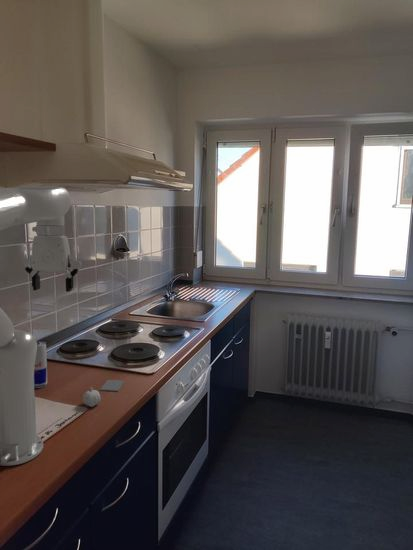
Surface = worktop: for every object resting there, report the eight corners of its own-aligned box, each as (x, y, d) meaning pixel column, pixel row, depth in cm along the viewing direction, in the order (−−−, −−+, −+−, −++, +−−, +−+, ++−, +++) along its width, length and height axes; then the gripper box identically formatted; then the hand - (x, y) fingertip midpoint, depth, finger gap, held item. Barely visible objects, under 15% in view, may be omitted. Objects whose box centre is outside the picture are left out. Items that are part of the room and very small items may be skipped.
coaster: (117, 391, 143) (117, 390, 143) (100, 390, 144) (100, 389, 144) (124, 381, 151) (124, 380, 151) (107, 380, 151) (107, 379, 151)
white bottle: (29, 385, 146) (27, 343, 144) (43, 381, 150) (42, 340, 147) (35, 390, 142) (33, 347, 140) (50, 385, 146) (48, 343, 144)
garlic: (86, 399, 137) (85, 384, 136) (103, 400, 137) (102, 385, 136) (79, 408, 131) (79, 392, 130) (97, 409, 131) (97, 393, 130)
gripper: (14, 231, 119) (17, 291, 122) (76, 233, 118) (77, 294, 121) (27, 229, 126) (30, 286, 129) (85, 231, 126) (86, 288, 129)
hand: (52, 290), depth 125 cm, fingers open, 9 cm apart
